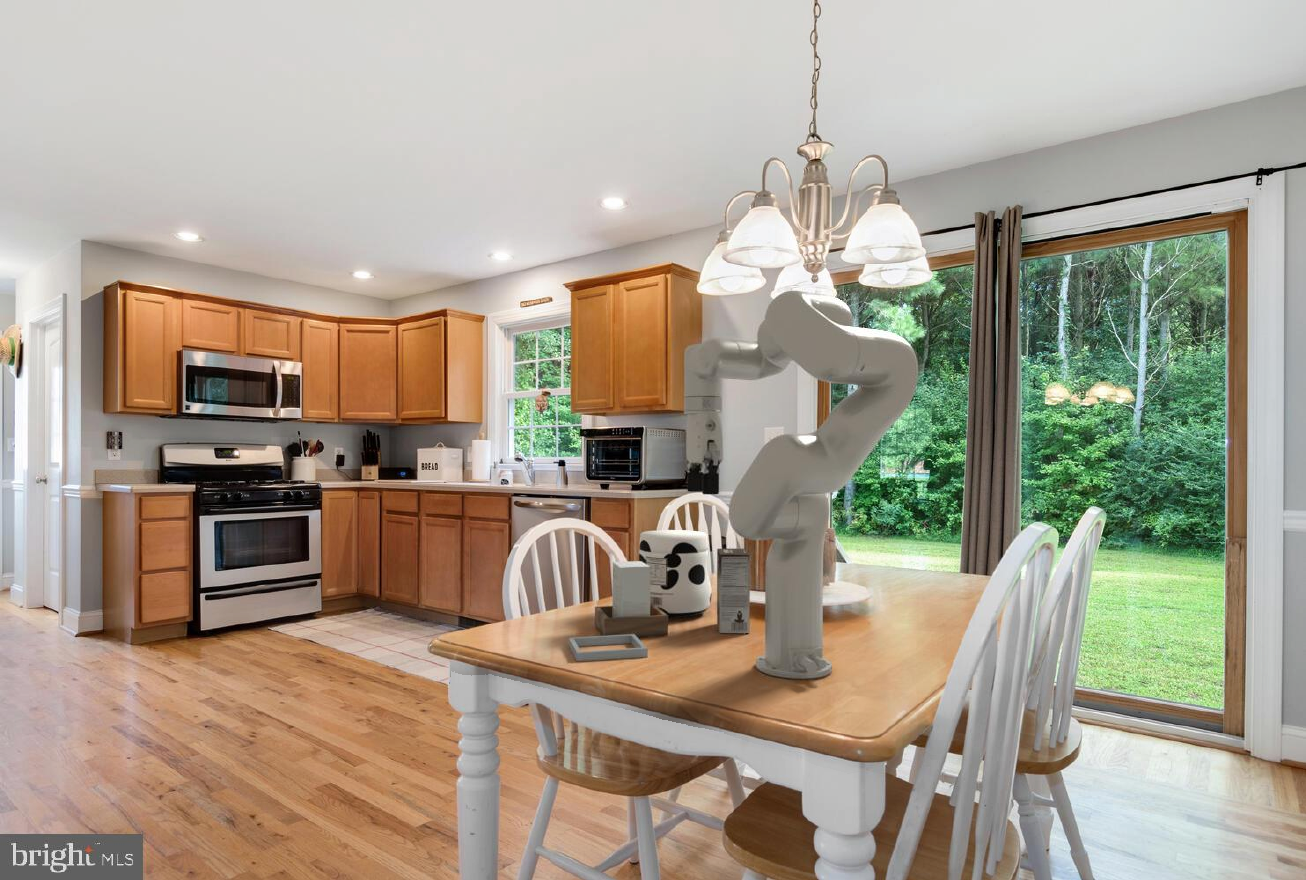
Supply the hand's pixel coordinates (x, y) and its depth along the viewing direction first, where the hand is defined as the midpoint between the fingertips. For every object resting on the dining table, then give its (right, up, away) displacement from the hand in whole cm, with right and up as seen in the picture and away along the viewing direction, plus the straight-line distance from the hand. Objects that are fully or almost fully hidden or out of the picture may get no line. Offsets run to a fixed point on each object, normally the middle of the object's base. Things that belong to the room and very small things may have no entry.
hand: (702, 492), depth 148 cm
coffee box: (+7, -29, +5) cm, 30 cm away
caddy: (-14, -28, +3) cm, 32 cm away
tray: (-18, -28, -12) cm, 36 cm away
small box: (-14, -28, +3) cm, 32 cm away
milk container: (-5, -29, +20) cm, 35 cm away
